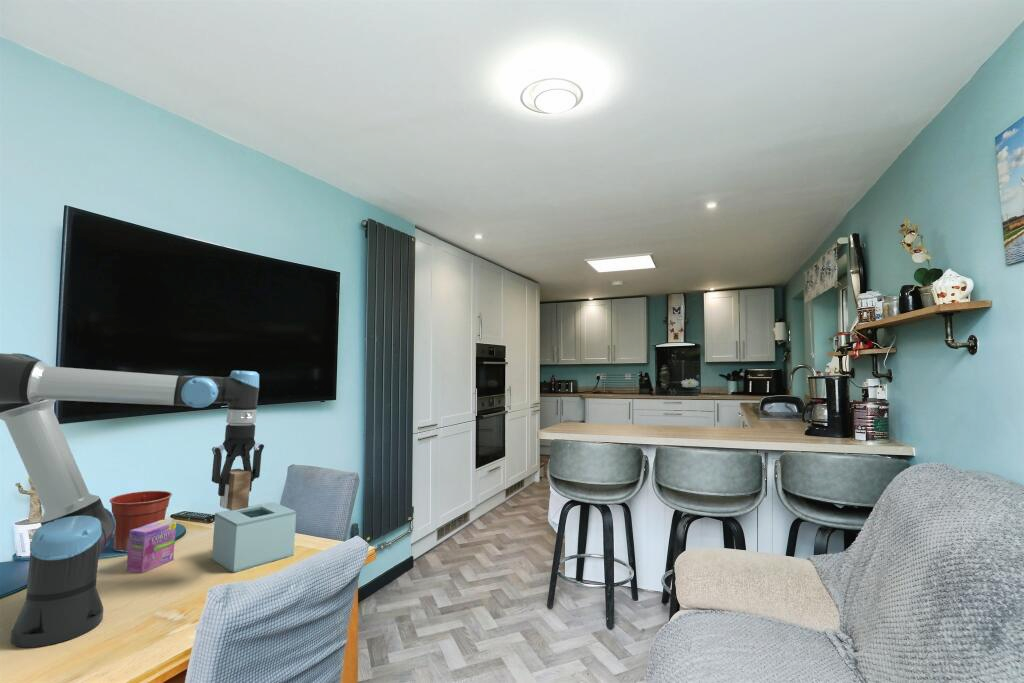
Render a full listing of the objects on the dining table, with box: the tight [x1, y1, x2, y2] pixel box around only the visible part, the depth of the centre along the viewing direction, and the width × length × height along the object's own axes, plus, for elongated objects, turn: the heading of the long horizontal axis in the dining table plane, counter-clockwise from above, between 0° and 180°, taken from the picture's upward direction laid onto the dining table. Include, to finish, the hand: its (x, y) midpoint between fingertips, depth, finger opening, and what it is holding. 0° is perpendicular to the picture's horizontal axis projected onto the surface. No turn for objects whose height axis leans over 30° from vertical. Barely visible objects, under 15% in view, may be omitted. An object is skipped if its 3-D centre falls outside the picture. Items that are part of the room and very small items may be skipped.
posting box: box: [211, 501, 297, 574], centre depth 152 cm, size 18×16×14 cm
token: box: [219, 468, 251, 511], centre depth 137 cm, size 4×7×10 cm, turn 55°
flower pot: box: [109, 490, 173, 551], centre depth 158 cm, size 16×16×16 cm
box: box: [126, 519, 177, 574], centre depth 143 cm, size 10×6×12 cm, turn 168°
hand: (233, 505), depth 137 cm, fingers closed on token, 5 cm apart
